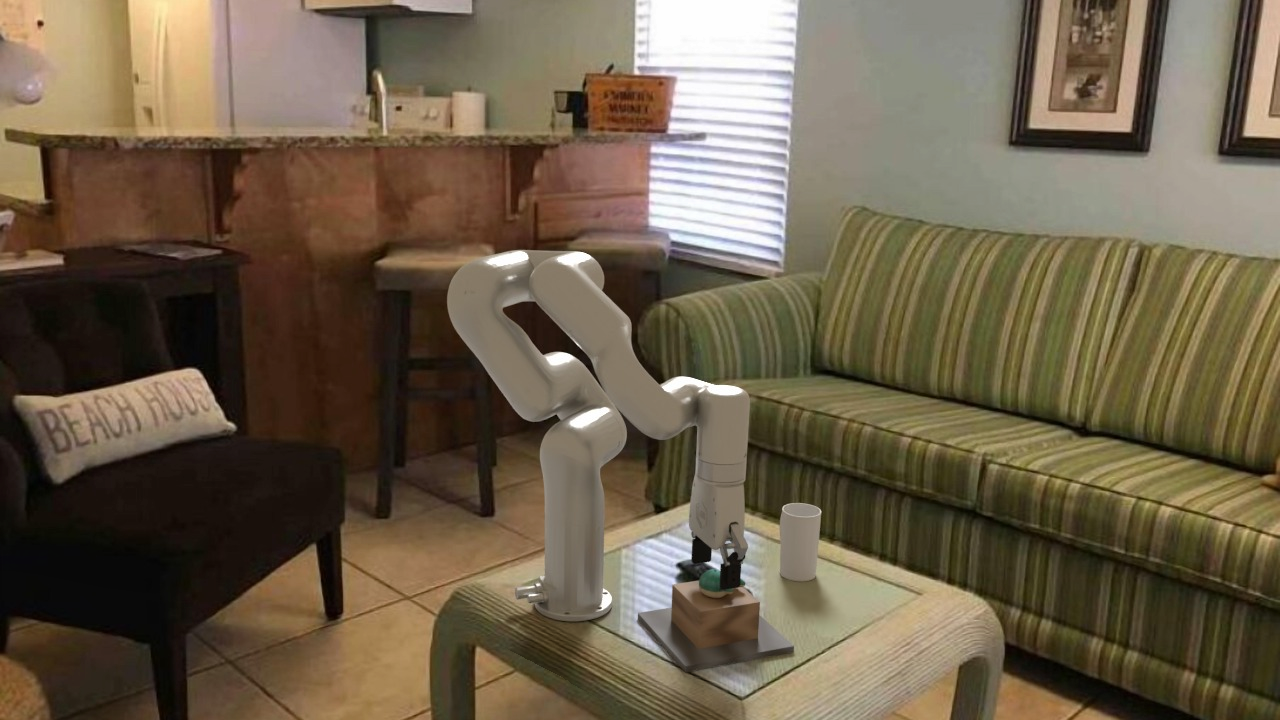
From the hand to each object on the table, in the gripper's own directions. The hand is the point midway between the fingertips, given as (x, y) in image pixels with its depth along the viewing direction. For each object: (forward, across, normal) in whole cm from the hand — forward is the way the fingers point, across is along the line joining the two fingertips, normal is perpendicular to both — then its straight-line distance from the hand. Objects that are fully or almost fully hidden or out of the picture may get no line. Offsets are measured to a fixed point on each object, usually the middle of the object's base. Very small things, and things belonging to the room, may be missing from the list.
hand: (715, 574), depth 170 cm
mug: (+10, -17, +24) cm, 31 cm away
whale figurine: (+3, 0, +1) cm, 3 cm away
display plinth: (+10, 0, 0) cm, 10 cm away
